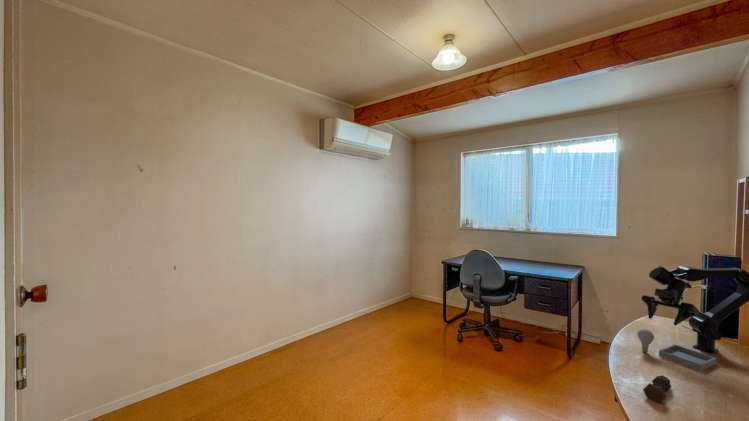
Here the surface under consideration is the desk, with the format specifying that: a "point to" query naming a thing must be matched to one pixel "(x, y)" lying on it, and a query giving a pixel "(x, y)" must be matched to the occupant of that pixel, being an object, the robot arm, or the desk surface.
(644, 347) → the light bulb
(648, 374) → the desk surface
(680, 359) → the tray
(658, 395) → the dark brown lumpy piece
